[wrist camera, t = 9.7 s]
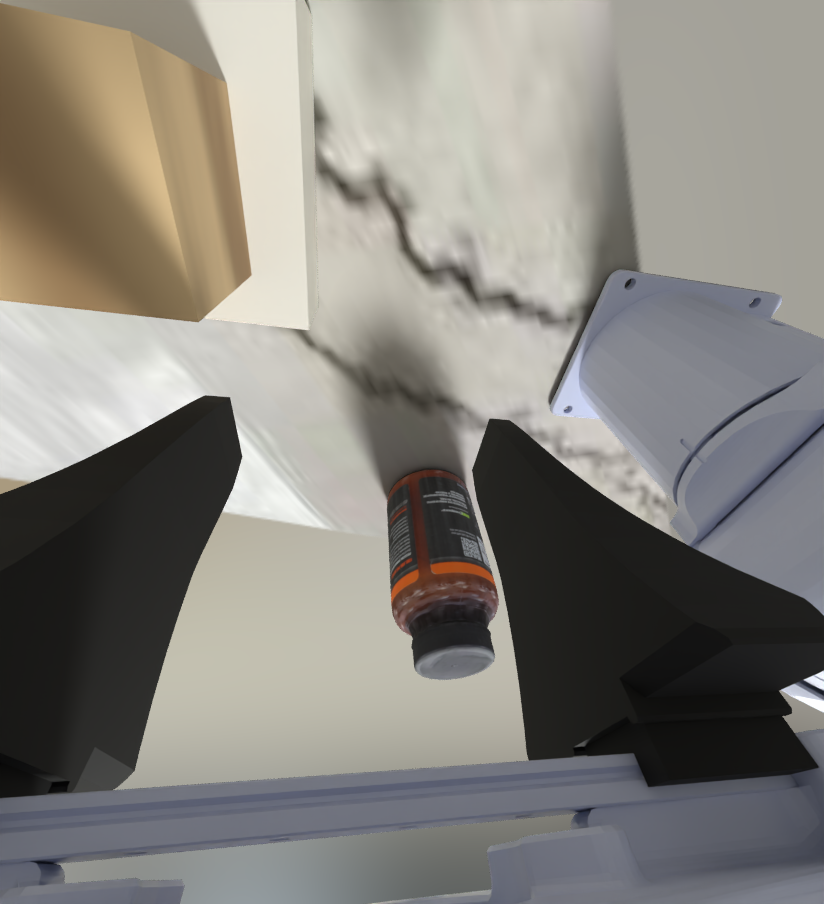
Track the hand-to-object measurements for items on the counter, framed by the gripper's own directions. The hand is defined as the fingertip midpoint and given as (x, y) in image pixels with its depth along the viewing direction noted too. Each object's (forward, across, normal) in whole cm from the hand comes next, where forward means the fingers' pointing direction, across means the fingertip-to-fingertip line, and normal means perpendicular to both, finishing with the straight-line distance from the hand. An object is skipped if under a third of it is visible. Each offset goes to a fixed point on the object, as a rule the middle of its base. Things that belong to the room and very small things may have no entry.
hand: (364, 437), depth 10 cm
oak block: (+6, +7, -5) cm, 11 cm away
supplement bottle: (+10, -5, +12) cm, 16 cm away
